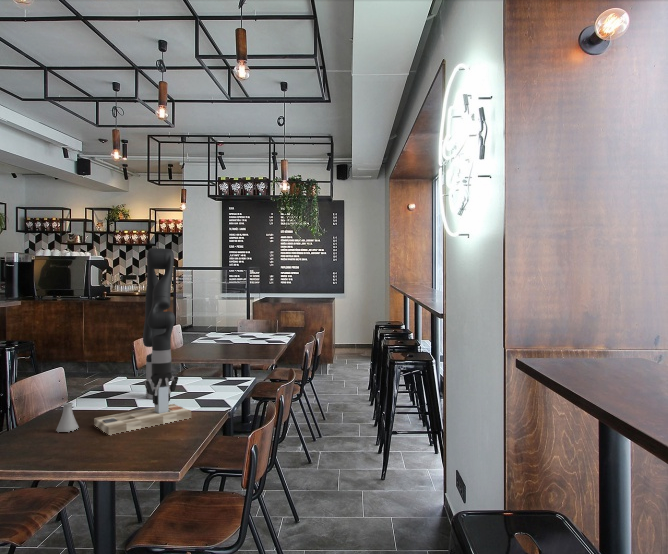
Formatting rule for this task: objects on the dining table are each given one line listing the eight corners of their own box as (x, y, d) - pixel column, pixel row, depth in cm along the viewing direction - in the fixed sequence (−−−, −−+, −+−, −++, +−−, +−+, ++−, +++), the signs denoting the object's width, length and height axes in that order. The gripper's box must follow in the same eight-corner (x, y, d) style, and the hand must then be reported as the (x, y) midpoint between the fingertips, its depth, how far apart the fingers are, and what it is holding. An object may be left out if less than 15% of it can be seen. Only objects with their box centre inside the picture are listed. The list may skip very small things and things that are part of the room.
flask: (83, 428, 186) (83, 402, 186) (66, 434, 179) (67, 406, 179) (68, 426, 188) (68, 400, 188) (51, 432, 182) (51, 405, 182)
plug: (154, 411, 199) (154, 386, 199) (164, 409, 202) (164, 385, 202) (158, 413, 196) (158, 388, 196) (168, 411, 199) (168, 386, 199)
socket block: (94, 426, 189) (94, 417, 189) (173, 410, 211) (173, 403, 211) (108, 435, 178) (108, 426, 178) (191, 418, 199) (191, 410, 199)
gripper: (174, 358, 207) (174, 399, 207) (140, 361, 197) (140, 405, 197) (182, 360, 201) (182, 402, 201) (147, 364, 192) (147, 408, 191)
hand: (161, 403), depth 199 cm, fingers closed on plug, 4 cm apart
